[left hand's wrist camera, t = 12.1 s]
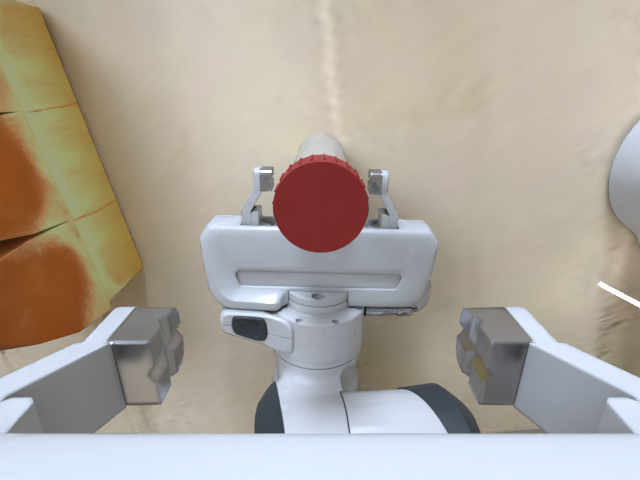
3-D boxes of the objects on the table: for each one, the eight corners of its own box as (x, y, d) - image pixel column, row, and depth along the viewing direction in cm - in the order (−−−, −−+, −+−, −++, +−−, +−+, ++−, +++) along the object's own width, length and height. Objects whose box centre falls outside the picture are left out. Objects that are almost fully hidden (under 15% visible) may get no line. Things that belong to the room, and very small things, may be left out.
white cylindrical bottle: (314, 188, 37) (309, 257, 22) (288, 149, 36) (264, 195, 21) (352, 163, 36) (375, 217, 21) (327, 123, 35) (332, 150, 20)
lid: (308, 254, 24) (307, 270, 22) (258, 185, 22) (251, 195, 20) (381, 211, 23) (387, 222, 21) (334, 134, 21) (336, 139, 19)
